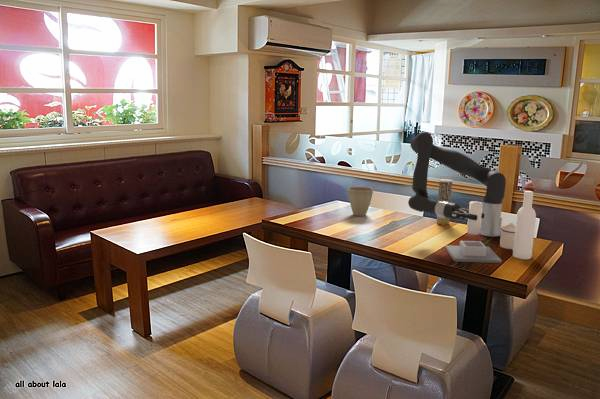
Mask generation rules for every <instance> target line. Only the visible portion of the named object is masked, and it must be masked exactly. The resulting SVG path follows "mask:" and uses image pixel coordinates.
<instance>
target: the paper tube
mask: <svg viewBox="0 0 600 399" xmlns="http://www.w3.org/2000/svg"><path fill="white" fill-rule="evenodd" d="M452 189H453V179H449V178H448V179H447V178H441V179H439V183H438V197H437V200H439V201H446V202H451V203H452ZM436 223H437V224H438V225H443V226H446V225H449V224H450V219H449V218H445V217H441V216H438V215H436Z"/></svg>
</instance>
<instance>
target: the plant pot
mask: <svg viewBox="0 0 600 399" xmlns="http://www.w3.org/2000/svg"><path fill="white" fill-rule="evenodd" d="M347 191H348V198H349V203H350V207H351V212H352V215H353V216H355V217H365V216H366V215H367V212H368V210H369V208H370V204H371V202H372V197H373V193H374V192H373V191H374V189H373V188H372V187H367V186H350V187H348V189H347Z"/></svg>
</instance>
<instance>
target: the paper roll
mask: <svg viewBox="0 0 600 399" xmlns="http://www.w3.org/2000/svg"><path fill="white" fill-rule="evenodd" d="M482 207H483V201H482V202H481V201H469V206H468V208H469V214H473V215H477V220H471V219H467V231H466V232H467V234H469V235H474V236H477V235H481V234H480V229H481V216H482Z"/></svg>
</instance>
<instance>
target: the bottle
mask: <svg viewBox="0 0 600 399" xmlns="http://www.w3.org/2000/svg"><path fill="white" fill-rule="evenodd" d="M533 200H534V191H531V190H524V193H523V203H522V206H521V207H520V208H519V209H518V211H517V212H516V220H515V226H516V228H515V238H514V248H513V249H512V256H513V257H514V258H515V259H516V258H517V259H519V260H530V259H532V256H533V248H534V247H533V246H534V238H535V237H534V236H535V229H536V220H537V214H536V210H535V209H534V208H533Z"/></svg>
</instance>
